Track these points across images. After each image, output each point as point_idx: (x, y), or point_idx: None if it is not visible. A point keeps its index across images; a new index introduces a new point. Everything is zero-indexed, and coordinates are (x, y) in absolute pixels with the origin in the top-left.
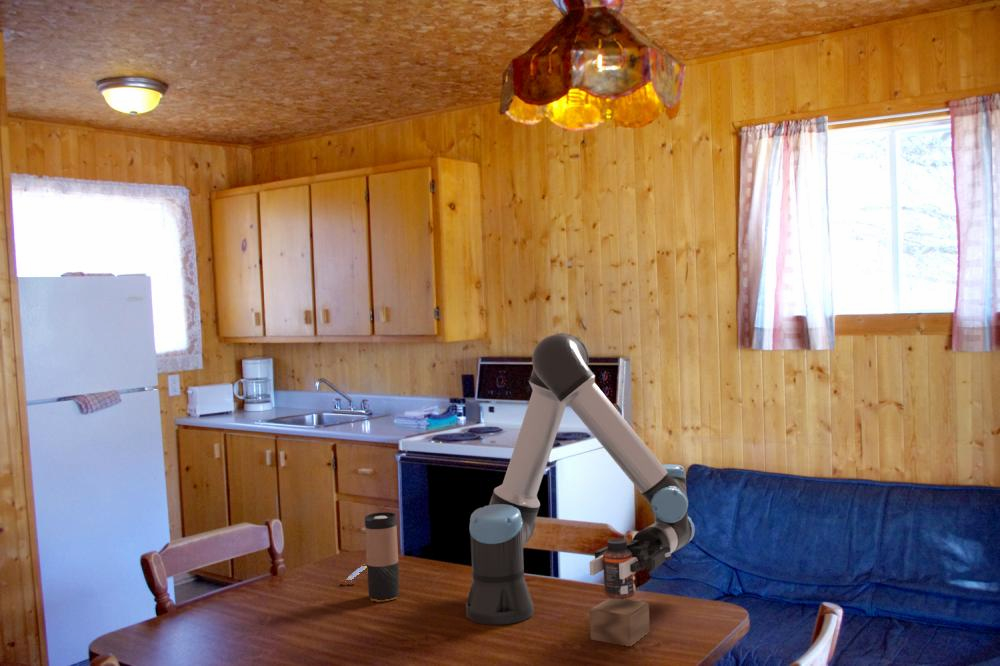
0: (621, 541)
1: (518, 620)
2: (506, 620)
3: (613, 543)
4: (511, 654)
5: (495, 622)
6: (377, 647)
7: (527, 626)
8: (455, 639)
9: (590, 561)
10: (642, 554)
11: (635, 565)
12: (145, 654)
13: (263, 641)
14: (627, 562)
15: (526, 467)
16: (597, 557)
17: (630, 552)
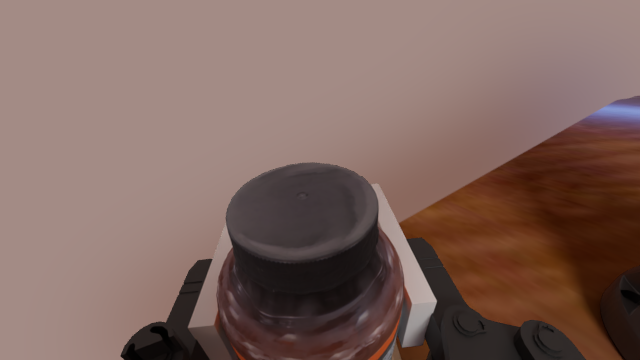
0: (257, 194)
1: (612, 335)
2: (605, 303)
3: (294, 165)
4: (423, 220)
5: (607, 288)
6: (554, 166)
7: (564, 331)
8: (540, 216)
9: (378, 186)
10: (129, 344)
11: (193, 266)
12: (622, 102)
13: (634, 133)
14: (225, 231)
15: None
16: (452, 282)
17: (220, 290)
